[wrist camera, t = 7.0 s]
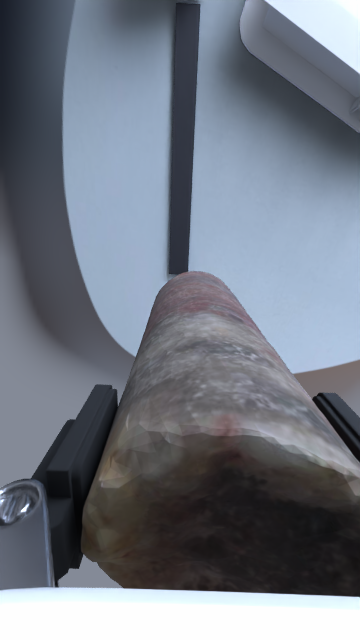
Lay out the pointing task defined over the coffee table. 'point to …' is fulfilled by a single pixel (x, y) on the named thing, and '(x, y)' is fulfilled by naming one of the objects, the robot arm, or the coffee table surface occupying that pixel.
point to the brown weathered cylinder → (221, 463)
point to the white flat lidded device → (310, 48)
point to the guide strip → (183, 132)
